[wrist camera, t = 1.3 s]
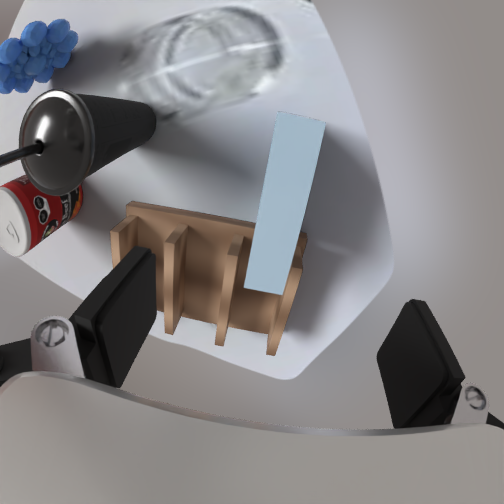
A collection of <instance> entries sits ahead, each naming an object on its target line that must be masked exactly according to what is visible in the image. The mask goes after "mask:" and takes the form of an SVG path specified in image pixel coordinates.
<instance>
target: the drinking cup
mask: <svg viewBox="0 0 504 504" xmlns="http://www.w3.org/2000/svg"><path fill="white" fill-rule="evenodd" d="M155 127H156V118H155V114H154V112H153V110H152V109H151V108H150V107H149V106H148V105H146V104H144V103H141V102H135V101H129V100H123V99H116V98H109V97H101V96H93V95H83V94H75V93H73V92H71V91H69V90H65V89H53V90H49V91H47V92H44V93H43V94H41V95H40V96H38V97H37V98H36V99H35V100H34V101H33V102H32V104H31V105H30V106H29V108H28V109H27V111H26V113H25V115H24V118H23V120H22V124H21V128H20V133H19V149H17V150H14V151H11V152H8V153H5V154H2V155H0V167H2V166H4V165H7V164H9V163H12V162H14V161H17V160H20V159H21V163H22V166H23V169H24V171H25V173H26V175H27V177H28V178H29V180H30V181H31V183H32V184H33V185H34V186H35V187H36V188H37V189H38V190H40V191H41V192H43V193H45V194H48V195H52V196H62V195H65V194H68V193H70V192H71V191H73V190H75V189H76V188H77V187H78V186H79V185H80V184H81V183H82V182H83V181H84V179H85V178H86V177H88V176H89V175H91V174H93V173H94V172H96V171H97V170H99V169H100V168H102V167H104V166H105V165H107V164H109V163H110V162H112V161H114V160H115V159H117V158H119V157H120V156H122V155H124V154H126V153H127V152H129V151H131V150H133V149H134V148H136V147H138V146H140V145H142V144H143V143H145V142H147V141H148V140H149V139H150V138H151V137H152V135H153V133H154V131H155Z"/></svg>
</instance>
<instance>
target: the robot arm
mask: <svg viewBox="0 0 504 504" xmlns="http://www.w3.org/2000/svg"><path fill="white" fill-rule="evenodd" d="M156 315H157V304H156V255H155V254H154V253H152V251H151V249H150V248H145V247H140V246H134V247H133V248H132V249H131V250H130V251H129V252H128V253H127V255H126V256H125V257H124V258H123V259H122V260H121V261H120V262H119V263H118V264H117V265H116V266H115V268H114V269H113V270H112V271H111V272H110V273H109V274H108V275H107V276H106V277H105V278H103V279H102V281H101V282H100V283H99V284H98V285H97V286H96V287H95V289H94V290H93V291H92V292H91V293H90V294H89V295H88V297H87V298H86V299H85V300H84V301H83V303H82V304H81V305H80V306H79V307H78V309H77V310H76V311H75V312H74V313H73V315H72V316H71V317H70V318H69V319H66V318H64V317H60V316H49V317H46V318H43V319H42V320H40V321H39V322H37V324H35V325H34V327H33V329H32V331H31V338H29V339H25V340H21V341H17V342H13V343H9V344H5V345H1V346H0V504H504V423H502V422H501V421H500V420H498V419H497V418H496V417H494V416H493V415H492V414H490V413H489V412H488V409H489V399H488V397H487V395H486V393H485V391H484V390H483V389H482V388H481V387H479V386H478V385H476V384H473V383H467V384H465V385H464V386H463V387H462V386H461V382H462V381H463V380H464V379H465V375H464V373H463V372H462V369H461V367H460V365H459V363H458V361H457V359H456V357H455V355H454V353H453V351H452V349H451V347H450V345H449V343H448V341H447V339H446V338H445V336H444V334H443V332H442V330H441V328H440V326H439V325H438V323H437V321H436V319H435V317H434V316H433V314H432V312H431V310H430V309H429V307H428V305H427V304H426V302H425V301H421V300H415V299H412V300H410V301H409V302H407V303H405V305H404V306H403V308H402V310H401V312H400V314H399V316H398V318H397V319H396V321H395V323H394V325H393V327H392V328H391V330H390V332H389V334H388V336H387V337H386V339H385V341H384V342H383V344H382V346H381V347H380V349H379V351H378V353H377V363H378V366H379V370H380V373H381V377H382V381H383V385H384V389H385V393H386V397H387V401H388V405H389V410H390V414H391V418H392V423H393V427H394V428H395V429H373V430H350V429H349V430H348V429H321V428H306V427H293V426H284V425H275V424H268V423H260V422H253V421H247V420H241V419H234V418H229V417H224V416H218V415H214V414H209V413H204V412H199V411H195V410H191V409H187V408H183V407H179V406H175V405H171V404H168V403H164V402H160V401H156V400H152V399H149V398H146V397H142V396H139V395H136V394H133V393H129V392H126V391H123V390H120V389H117V388H120V387H121V386H122V384H123V382H124V380H125V378H126V376H127V374H128V372H129V370H130V368H131V366H132V364H133V362H134V359H135V358H136V356H137V354H138V352H139V350H140V348H141V346H142V344H143V343H144V341H145V339H146V337H147V335H148V333H149V331H150V329H151V327H152V325H153V324H154V322H155V319H156Z"/></svg>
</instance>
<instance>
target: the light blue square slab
mask: <svg viewBox="0 0 504 504" xmlns="http://www.w3.org/2000/svg"><path fill="white" fill-rule="evenodd" d="M325 125H326V122H323V121H319V120H316V119H312V118H308V117H304V116H300V115H295V114H290V113H285V112H280V111H278V112H277V117H276V122H275V127H274V132H273V137H272V143H271V148H270V153H269V158H268V163H267V169H266V174H265V179H264V184H263V189H262V195H261V200H260V205H259V210H258V216H257V221H256V226H255V231H254V236H253V242H252V247H251V252H250V257H249V263H248V268H247V273H246V278H245V284H244V288H248V289H253V290H258V291H263V292H269V293H274V294H279V295H283V291H284V288H285V284H286V281H287V277H288V274H289V270H290V266H291V263H292V259H293V255H294V252H295V248H296V244H297V241H298V237H299V233H300V229H301V225H302V221H303V218H304V214H305V210H306V206H307V202H308V198H309V194H310V190H311V186H312V181H313V177H314V173H315V169H316V165H317V160H318V156H319V152H320V147H321V143H322V138H323V134H324V129H325Z"/></svg>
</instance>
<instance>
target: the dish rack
mask: <svg viewBox="0 0 504 504" xmlns="http://www.w3.org/2000/svg"><path fill="white" fill-rule="evenodd" d="M255 226H256V223H253V222H247V221H242V220H237V219H232V218H226V217H221V216H216V215H210V214H205V213H199V212H193V211H188V210H182V209H176V208H171V207H165V206H159V205H153V204H147V203H141V202H135V201H131V202H130V203H129V204H127V205H126V218H125V219H124V220H122V221H121V222H120V223H119V224H118V225H116V226H115V227H114V228H113V229H112V230H111V231H110V237H111V251H112V263H113V269H114V268H115V266H116V265H117V264H118V263H119V262H120V261H121V260H122V259H123V258H124V257H125V256H126V255H127V253H128V252H129V251H130V250H131V249H132V248H133V247H134V246H140V247H145V248H150V249H151V251H152V253H154V254H155V255H156V304H157V310H158V311H161V312H164V321H165V333H167V334H171V335H173V334H174V331H175V329H176V327H177V324H178V322H179V320H180V318H181V316H182V317H186V318H190V319H195V320H199V321H204V322H208V323H213V324H217V331H216V339H215V345H218V346H224V341H225V337H226V333H227V329H228V327H232V328H237V329H242V330H248V331H253V332H258V333H264V334H268V340H267V352H266V355H272V356H275V354H276V351H277V348H278V345H279V342H280V339H281V336H282V334H283V331H284V328H285V325H286V322H287V318H288V315H289V312H290V309H291V306H292V303H293V300H294V297H295V294H296V290H297V287H298V284H299V281H300V277H301V274H302V271H303V265H302V257H303V254H304V250H305V247H306V243H307V234H306V233H302V232H300V233H299V237H298V241H297V244H296V248H295V252H294V255H293V259H292V263H291V266H290V270H289V274H288V277H287V281H286V284H285V288H284V291H283V295H279V294H274V293H269V292H263V291H258V290H253V289H248V288H244V284H245V278H246V273H247V268H248V263H249V257H250V252H251V247H252V242H253V236H254V231H255Z"/></svg>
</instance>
